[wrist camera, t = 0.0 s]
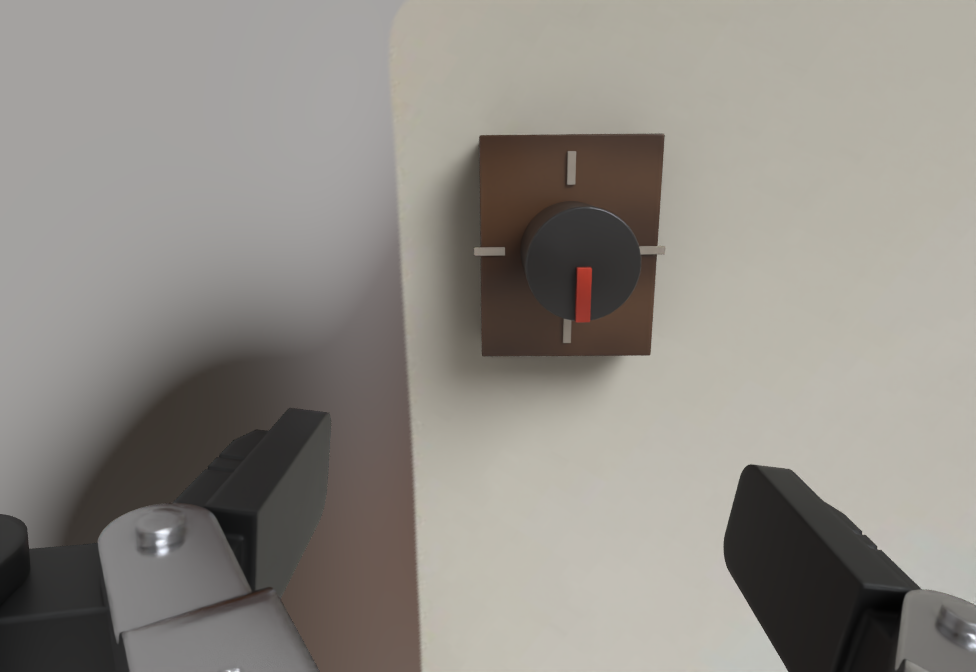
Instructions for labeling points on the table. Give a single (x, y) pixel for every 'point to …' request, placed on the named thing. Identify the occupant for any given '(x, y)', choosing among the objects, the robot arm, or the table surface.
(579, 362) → the table surface
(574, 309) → the lock knob
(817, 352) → the table surface
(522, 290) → the panel
